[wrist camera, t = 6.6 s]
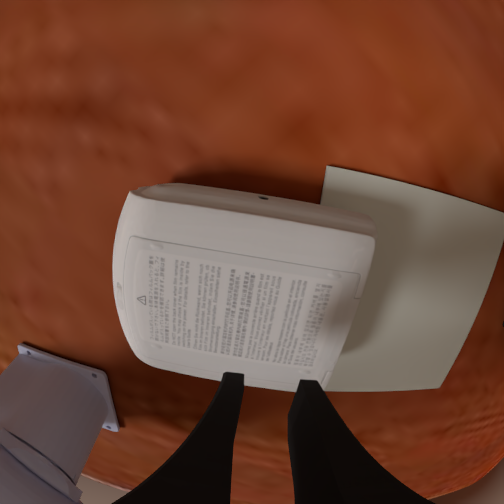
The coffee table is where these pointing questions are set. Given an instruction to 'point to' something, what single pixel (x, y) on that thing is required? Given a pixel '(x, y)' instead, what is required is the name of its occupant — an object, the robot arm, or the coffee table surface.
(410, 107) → the coffee table surface
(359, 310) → the mat
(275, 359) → the photo printer
